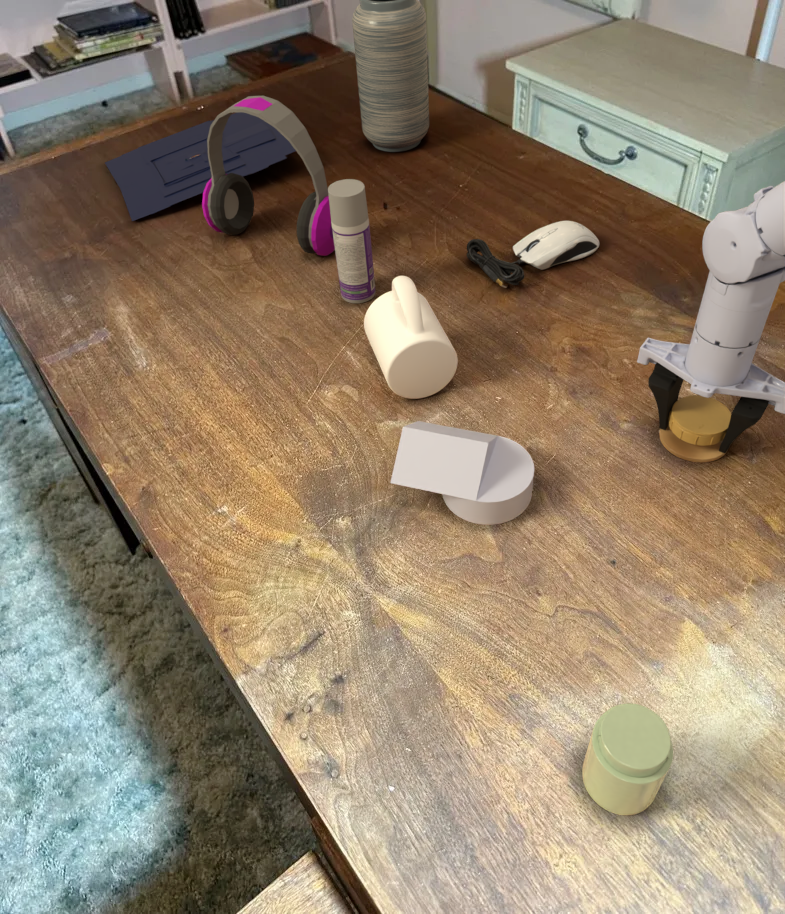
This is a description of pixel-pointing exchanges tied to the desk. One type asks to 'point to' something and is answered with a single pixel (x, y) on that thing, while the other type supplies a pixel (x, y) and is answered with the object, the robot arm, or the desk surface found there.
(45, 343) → the desk surface
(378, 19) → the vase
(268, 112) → the headphones
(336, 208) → the container
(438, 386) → the mug
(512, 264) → the computer mouse
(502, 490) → the wedge on round base
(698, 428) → the lid
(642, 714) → the jar
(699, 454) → the tan round disc
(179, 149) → the dark blue flat panel
